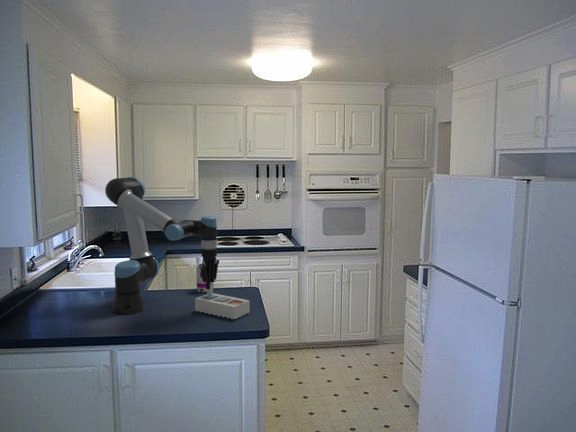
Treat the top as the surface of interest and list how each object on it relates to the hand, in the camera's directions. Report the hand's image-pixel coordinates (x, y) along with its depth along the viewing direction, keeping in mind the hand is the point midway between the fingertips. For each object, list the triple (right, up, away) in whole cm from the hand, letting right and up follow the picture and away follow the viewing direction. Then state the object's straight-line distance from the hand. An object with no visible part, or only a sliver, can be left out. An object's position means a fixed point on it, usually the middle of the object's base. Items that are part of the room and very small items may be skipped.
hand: (209, 295), depth 239 cm
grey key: (+7, -5, -3) cm, 9 cm away
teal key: (0, -5, +1) cm, 5 cm away
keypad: (+7, -8, -3) cm, 11 cm away
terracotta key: (+14, -7, -7) cm, 17 cm away
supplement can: (-8, -3, +32) cm, 33 cm away
